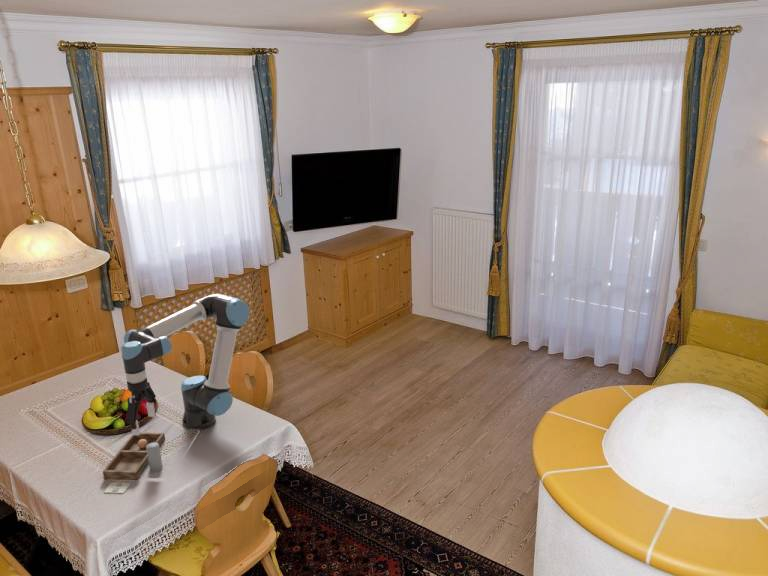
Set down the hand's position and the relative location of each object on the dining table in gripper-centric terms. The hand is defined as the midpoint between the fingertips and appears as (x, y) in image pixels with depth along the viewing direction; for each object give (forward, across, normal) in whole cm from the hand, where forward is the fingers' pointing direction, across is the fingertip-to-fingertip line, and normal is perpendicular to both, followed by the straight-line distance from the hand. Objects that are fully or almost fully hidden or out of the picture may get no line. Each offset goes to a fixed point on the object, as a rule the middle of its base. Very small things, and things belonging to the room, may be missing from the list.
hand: (144, 425), depth 239 cm
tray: (+21, -6, -10) cm, 24 cm away
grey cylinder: (+21, +1, +3) cm, 21 cm away
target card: (+21, +13, -8) cm, 26 cm away
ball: (+20, -13, -10) cm, 26 cm away
